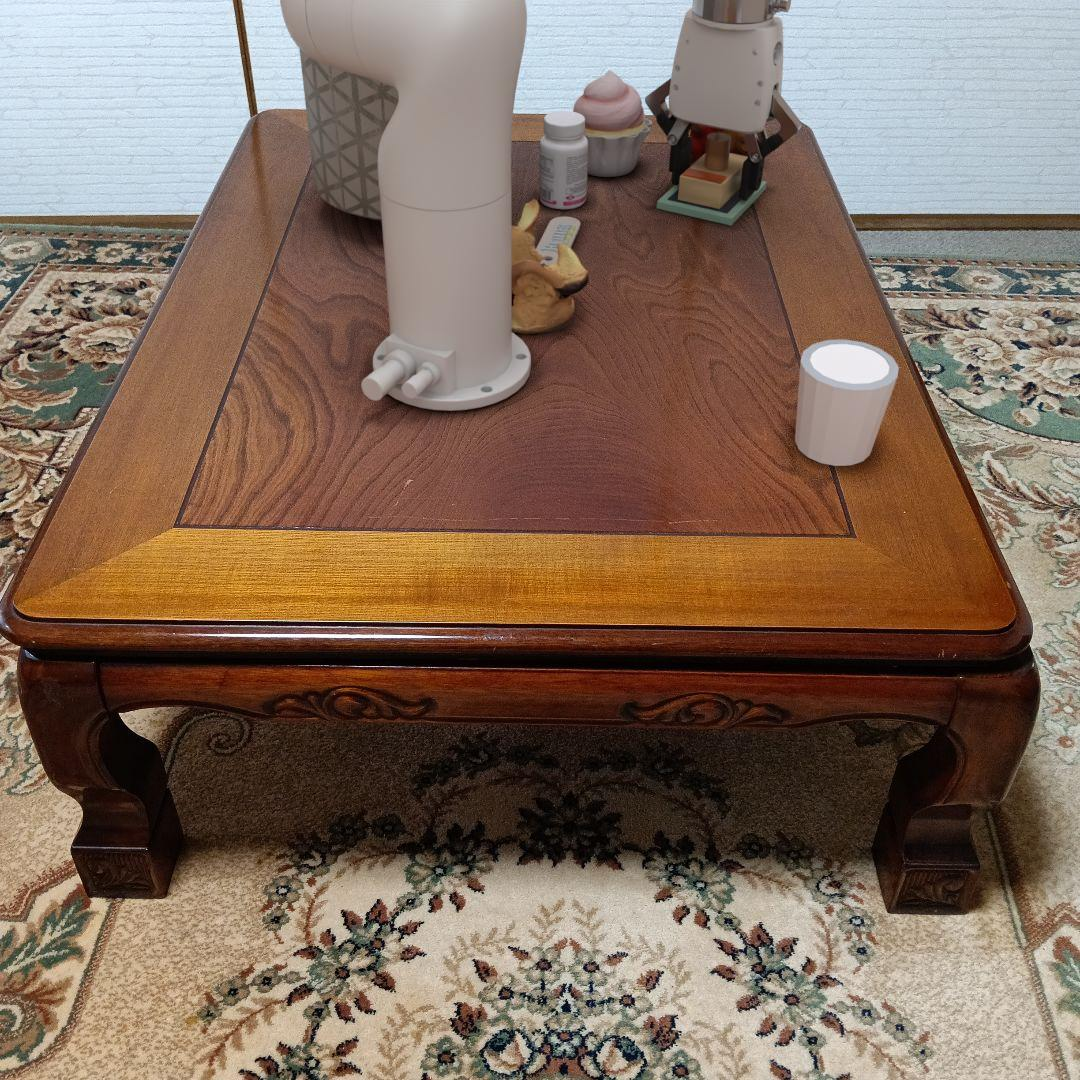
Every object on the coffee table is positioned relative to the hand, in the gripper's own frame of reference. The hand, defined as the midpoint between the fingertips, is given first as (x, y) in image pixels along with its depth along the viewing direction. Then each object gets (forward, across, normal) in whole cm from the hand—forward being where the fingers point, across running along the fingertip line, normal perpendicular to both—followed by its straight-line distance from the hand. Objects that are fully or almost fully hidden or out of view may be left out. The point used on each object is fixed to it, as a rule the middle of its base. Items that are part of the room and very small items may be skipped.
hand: (713, 186), depth 122 cm
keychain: (+1, +9, +17) cm, 19 cm away
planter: (+1, +25, +17) cm, 30 cm away
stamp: (0, 0, 0) cm, 0 cm away
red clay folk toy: (+1, +3, -10) cm, 11 cm away
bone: (+1, +5, +30) cm, 30 cm away
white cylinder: (+1, -24, +36) cm, 43 cm away
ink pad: (+1, 0, 0) cm, 1 cm away
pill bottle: (+1, +13, +8) cm, 15 cm away
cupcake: (+1, +13, -2) cm, 13 cm away
